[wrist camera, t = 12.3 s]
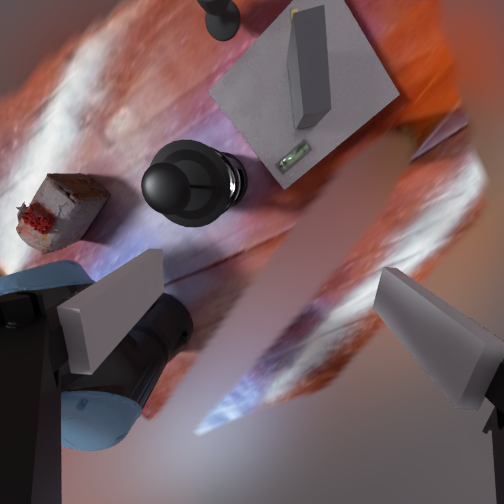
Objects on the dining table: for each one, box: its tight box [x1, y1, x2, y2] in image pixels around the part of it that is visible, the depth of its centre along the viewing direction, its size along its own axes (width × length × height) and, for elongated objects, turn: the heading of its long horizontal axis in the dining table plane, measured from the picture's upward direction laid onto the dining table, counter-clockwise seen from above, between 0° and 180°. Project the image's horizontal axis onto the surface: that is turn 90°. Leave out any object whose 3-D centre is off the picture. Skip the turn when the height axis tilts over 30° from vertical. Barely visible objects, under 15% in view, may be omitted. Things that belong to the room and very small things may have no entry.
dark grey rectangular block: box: [287, 5, 331, 130], centre depth 28 cm, size 14×3×9 cm, turn 10°
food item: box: [16, 173, 110, 255], centre depth 40 cm, size 14×8×10 cm, turn 138°
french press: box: [141, 140, 248, 227], centre depth 30 cm, size 12×9×23 cm
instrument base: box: [208, 0, 400, 190], centre depth 34 cm, size 20×18×5 cm
